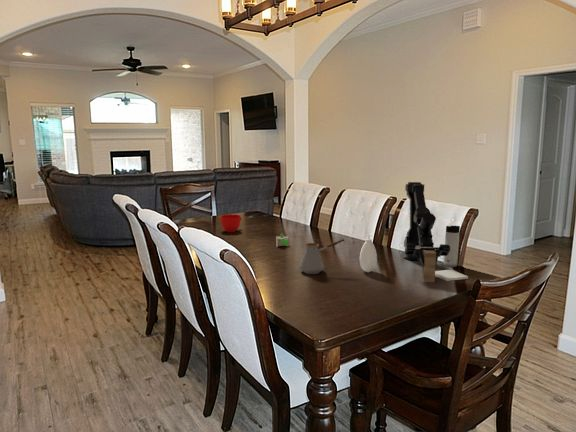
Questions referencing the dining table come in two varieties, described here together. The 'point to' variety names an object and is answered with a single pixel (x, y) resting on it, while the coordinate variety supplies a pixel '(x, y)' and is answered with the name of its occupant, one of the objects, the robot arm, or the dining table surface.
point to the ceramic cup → (230, 222)
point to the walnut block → (429, 266)
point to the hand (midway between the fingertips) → (429, 266)
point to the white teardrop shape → (368, 256)
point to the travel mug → (452, 245)
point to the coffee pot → (313, 258)
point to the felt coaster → (450, 275)
